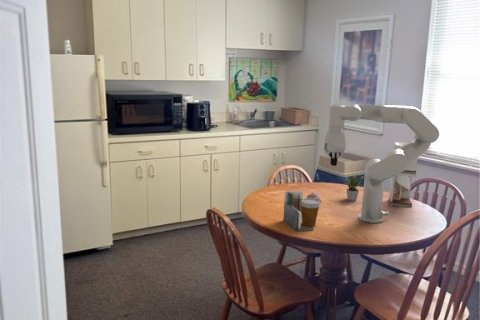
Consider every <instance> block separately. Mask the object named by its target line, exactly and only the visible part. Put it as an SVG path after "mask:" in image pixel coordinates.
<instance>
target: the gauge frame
mask: <svg viewBox="0 0 480 320" xmlns="http://www.w3.org/2000/svg"><path fill="white" fill-rule="evenodd" d="M290 193H292V206H291V205H290ZM303 193H304V191H303V190H295V191H284V198H283V201H284V202H283V219H282V221H284V223H285V224H286V225H287V226H288V227H290V228H291V229H292V230H293V231H294V232H296V231H297V232H309V231H314V226H313V227H300V228H297V212H298V211H300V212H301V204H300V202H301V200H302V199H304V198H303V197H304V196H303V195H304V194H303ZM295 208H296V209H295ZM301 216H302V212H301Z"/></svg>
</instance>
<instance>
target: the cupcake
mask: <svg viewBox="0 0 480 320" xmlns="http://www.w3.org/2000/svg"><path fill="white" fill-rule="evenodd" d="M305 199H315V200H318V201H319V204H320V205H321V204H322V202H323V201H322V199H321V196H320V195H319V194H318V193H317V192H315V191H314V190H313V191H312V193H311V192H310V193H309V194H308V195H307V196H306V198H305Z"/></svg>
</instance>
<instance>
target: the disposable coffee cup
mask: <svg viewBox="0 0 480 320" xmlns="http://www.w3.org/2000/svg"><path fill="white" fill-rule="evenodd" d="M300 204H301V212H302V215H301V223H302V226H304V227H306V228H310V227H313V228H314V227H315V226H316V222H317V218H318V212H319V208H320V206H321V204H319V201H318V200H315V199H306V198H303V199H302V200H301V202H300Z"/></svg>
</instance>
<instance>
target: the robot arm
mask: <svg viewBox="0 0 480 320" xmlns="http://www.w3.org/2000/svg"><path fill="white" fill-rule="evenodd" d="M358 120H363V121H364V120H365V121H374V122H377V123H382V124H402V125H406V126H407V127H409V129H410V130H411V131H412V132H413V134H415V135H414V137H413V139H411V140H410V141H409V142H406V143H407V144H405V145H403V146H401V147H399V148H397V149H394V148H393V149H391V150H390V151H389V152H388V153H387V154H386V156H385V158H383V159H379V158H371V159H369V160H367V162H366V164H365V166H364V178H363V180H364V181H363V194H362V202H361V203H362V204H361V212H360V213H359V214H358V215H357V218H358V220H360V221H361V222H365V223H368V224H380V223H381V224H382V223H383V222H384V216H390V213H389V211H384V210H382V207H383V197H384V196H383V195H384V188H385V187H384V186H385V181H386V180H388V179H391V177H393V176H395V175H397V174H399V173H401V172H403V171H404V170H406V169H407V167H408V166H409V162H410V161H412V160H414V159H416V158H419V157H421V156H423V155H424V154H426V153H427V151H428V149H430V147H431V145H432V143H434V142H437V140H438V139H439V137H440V131H439V128H437V126H436V125H434V124H433V122H431V120H430V119H428V117H427V116H426V115H424V113H423V112H422V111H421V110H420V109H418V108H417V107H414V106H407V105H384V104H381V105H380V104H379V105H375V104H349V105H347V106H346V105H342V104H333V105H331V106H330V107H329V121H328V131H327V132H326V135H325V137H324V141H323V142H324V143H323V151H324V154H325V155H327V156H329V158H330V166H333V167H337V164H338V159H339V157H340V156H341V155H344V154H345V151H346V134H345V130H347V128H346V127H345V122H346V121H348V122H349V121H351V122H355V121H358Z"/></svg>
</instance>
